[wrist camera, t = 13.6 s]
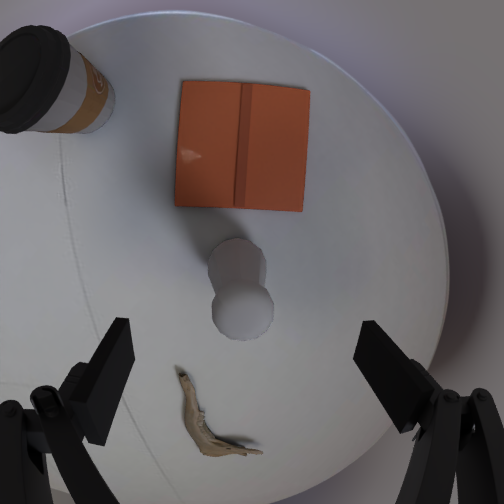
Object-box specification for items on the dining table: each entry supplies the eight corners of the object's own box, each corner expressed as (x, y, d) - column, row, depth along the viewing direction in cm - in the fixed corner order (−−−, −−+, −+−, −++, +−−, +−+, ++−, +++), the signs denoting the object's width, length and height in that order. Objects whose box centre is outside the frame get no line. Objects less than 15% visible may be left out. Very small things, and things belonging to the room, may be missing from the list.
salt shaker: (257, 228, 31) (280, 268, 18) (268, 278, 32) (294, 343, 20) (202, 241, 30) (188, 289, 18) (215, 290, 32) (213, 362, 20)
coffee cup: (136, 117, 26) (67, 79, 12) (73, 157, 26) (-19, 156, 12) (112, 58, 24) (47, -2, 9) (53, 98, 24) (-32, 71, 10)
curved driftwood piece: (217, 458, 41) (217, 467, 39) (135, 387, 36) (131, 396, 34) (263, 445, 40) (264, 455, 38) (184, 367, 34) (182, 377, 32)
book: (183, 82, 26) (182, 80, 25) (308, 91, 27) (311, 90, 26) (175, 205, 29) (174, 206, 28) (301, 211, 31) (303, 212, 30)
